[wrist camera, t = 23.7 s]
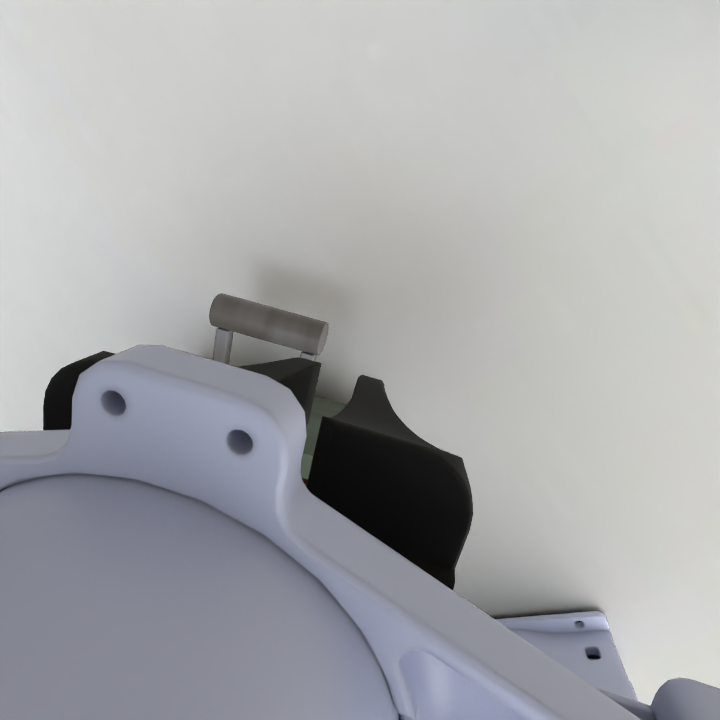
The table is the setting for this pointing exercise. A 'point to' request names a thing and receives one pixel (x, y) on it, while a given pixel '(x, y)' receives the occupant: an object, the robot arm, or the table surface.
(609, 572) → the table surface
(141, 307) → the table surface
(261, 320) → the drawer
